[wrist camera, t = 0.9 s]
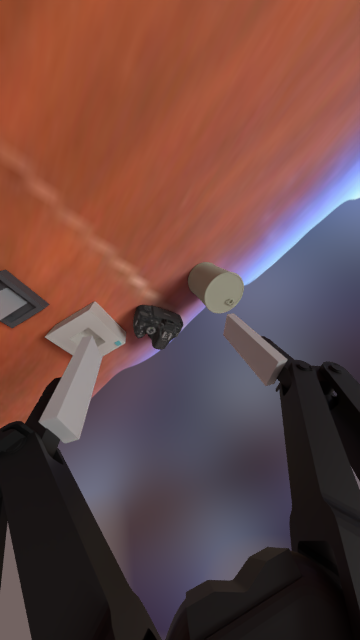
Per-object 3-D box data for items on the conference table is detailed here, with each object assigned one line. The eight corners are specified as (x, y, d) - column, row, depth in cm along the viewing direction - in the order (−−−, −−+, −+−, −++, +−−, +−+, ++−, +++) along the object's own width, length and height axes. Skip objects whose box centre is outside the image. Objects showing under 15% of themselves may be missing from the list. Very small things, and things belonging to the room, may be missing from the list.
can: (202, 301, 43) (221, 321, 33) (181, 282, 38) (196, 299, 28) (224, 277, 41) (252, 291, 31) (205, 254, 36) (230, 261, 26)
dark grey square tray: (-31, 292, 28) (-41, 296, 27) (5, 269, 28) (-3, 271, 26) (18, 323, 33) (12, 328, 32) (49, 304, 33) (44, 308, 31)
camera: (135, 332, 43) (134, 356, 34) (132, 302, 38) (130, 322, 29) (177, 329, 46) (186, 350, 38) (180, 301, 41) (190, 318, 33)
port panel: (55, 325, 36) (43, 338, 31) (94, 300, 35) (88, 310, 30) (92, 352, 42) (87, 366, 38) (126, 332, 42) (125, 344, 37)
